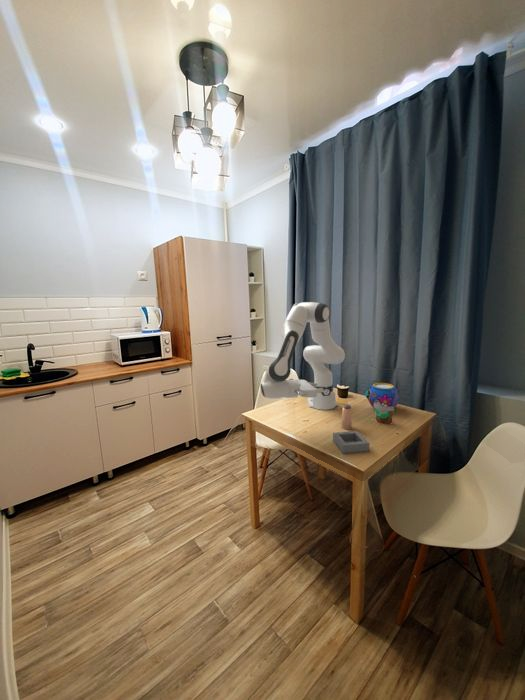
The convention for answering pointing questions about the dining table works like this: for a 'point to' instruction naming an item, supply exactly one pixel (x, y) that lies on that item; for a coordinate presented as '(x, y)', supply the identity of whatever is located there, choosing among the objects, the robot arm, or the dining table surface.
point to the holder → (350, 442)
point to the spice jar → (347, 417)
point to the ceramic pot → (383, 394)
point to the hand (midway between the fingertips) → (319, 387)
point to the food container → (383, 412)
